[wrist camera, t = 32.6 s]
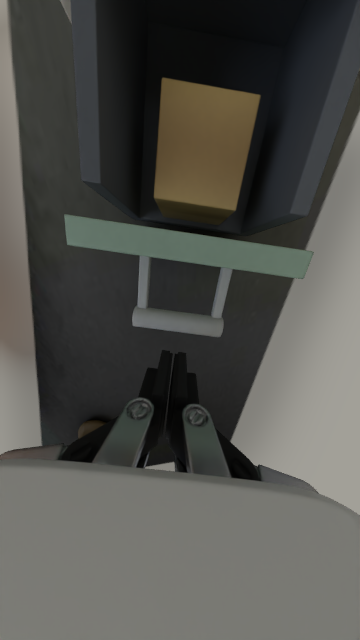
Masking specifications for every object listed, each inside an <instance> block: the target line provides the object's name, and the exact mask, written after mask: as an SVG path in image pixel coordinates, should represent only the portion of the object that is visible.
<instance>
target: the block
mask: <svg viewBox="0 0 360 640" xmlns="http://www.w3.org/2000/svg"><path fill="white" fill-rule="evenodd" d="M260 99H261V95H259V94H253V93H248V92H242V91H237V90H231V89H225V88H220V87H214V86H209V85H203V84H198V83H192V82H186V81H181V80H175V79H170V78H164V77H163V78H162V80H161V94H160V109H159V124H158V139H157V154H156V169H155V184H154V199H155V201H156V203H157V205H158V207H159V209H160V211H161V213H162V215H163V217H167V218H174V219H180V220H187V221H193V222H200V223H206V224H213V225H220V224H221V223H222V222H223V221H224V220H226V219H227V218H228V217H229V216H230V215H231V214H232V213H233V212H235V211H236V208H237V203H238V199H239V194H240V190H241V185H242V181H243V176H244V171H245V167H246V162H247V158H248V153H249V149H250V144H251V140H252V135H253V130H254V126H255V121H256V117H257V112H258V108H259V103H260Z"/></svg>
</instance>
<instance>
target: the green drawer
mask: <svg viewBox="0 0 360 640" xmlns="http://www.w3.org/2000/svg"><path fill="white" fill-rule="evenodd" d="M70 2H71V19H72V35H73V51H74V68H75V84H76V101H77V117H78V133H79V150H80V166H81V180H82V181H83V182H84V183H85V184H87V185H88V186H89V187H91V188H92V189H93V190H95V191H96V192H97V193H99V194H100V195H101V196H103V197H104V198H105V199H107V200H108V201H109V202H111V203H112V204H113V205H115V206H116V207H117V208H119V209H120V210H121V211H123V212H124V213H125V214H127V215H128V216H129V217H131V218H132V219H135V220H142V221H148V222H155V223H162V224H168V225H175V226H181V227H188V228H195V229H201V230H208V231H214V232H221V233H228V234H234V235H241V236H248V235H252V234H255V233H258V232H261V231H264V230H267V229H270V228H273V227H276V226H279V225H282V224H285V223H288V222H291V221H294V220H297V219H300V218H303V217H306V216H307V215H308V213H309V211H310V208H311V205H312V202H313V199H314V196H315V194H316V191H317V188H318V185H319V182H320V180H321V177H322V174H323V171H324V168H325V165H326V163H327V160H328V157H329V154H330V151H331V148H332V146H333V143H334V140H335V137H336V134H337V132H338V129H339V126H340V123H341V120H342V117H343V115H344V112H345V109H346V106H347V103H348V100H349V98H350V95H351V92H352V89H353V86H354V84H355V81H356V78H357V75H358V72H359V69H360V0H70ZM163 77H164V78H170V79H175V80H181V81H186V82H192V83H198V84H203V85H209V86H214V87H220V88H225V89H231V90H237V91H242V92H248V93H253V94H259V95H261V99H260V103H259V108H258V112H257V117H256V121H255V126H254V130H253V135H252V140H251V144H250V149H249V153H248V158H247V162H246V167H245V171H244V176H243V181H242V185H241V190H240V194H239V199H238V203H237V208H236V211H235V212H233V213H232V214H231V215H230V216H229V217H228V218H227V219H226V220H224V221H223V222H222V223H221V224H220V225H213V224H206V223H200V222H193V221H187V220H180V219H174V218H167V217H163V215H162V213H161V211H160V209H159V207H158V205H157V203H156V201H155V199H154V184H155V169H156V154H157V139H158V124H159V109H160V94H161V80H162V78H163ZM64 217H65V227H66V237H67V245H71V246H78V247H85V248H91V249H98V250H105V251H112V252H119V253H126V254H133V255H140V264H139V286H138V306H136V307H135V309H134V311H133V317H132V323H133V326H137V327H145V328H152V329H160V330H168V331H175V332H183V333H190V334H198V335H206V336H213V337H220V336H221V334H222V331H223V318H221V315H222V311H223V307H224V303H225V299H226V294H227V290H228V286H229V282H230V278H231V273H232V269H236V270H243V271H250V272H257V273H264V274H271V275H278V276H285V277H291V278H298V279H303V278H304V276H305V274H306V271H307V269H308V266H309V263H310V261H311V258H312V256H313V253H314V252H312V251H306V250H299V249H293V248H286V247H279V246H273V245H266V244H259V243H253V242H246V241H239V240H233V239H226V238H219V237H213V236H206V235H199V234H193V233H186V232H180V231H173V230H166V229H160V228H153V227H146V226H140V225H133V224H126V223H120V222H113V221H106V220H100V219H93V218H87V217H80V216H73V215H67V214H65V215H64ZM151 257H154V258H160V259H167V260H174V261H181V262H188V263H195V264H202V265H209V266H216V267H221V270H220V275H219V280H218V284H217V289H216V294H215V298H214V303H213V308H212V312H211V316H207V315H200V314H193V313H185V312H178V311H170V310H163V309H156V308H148V298H149V284H150V269H151Z"/></svg>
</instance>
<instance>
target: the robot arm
mask: <svg viewBox="0 0 360 640" xmlns="http://www.w3.org/2000/svg"><path fill="white" fill-rule="evenodd" d="M172 355H173V353H170V351H166V350H162V353H161V357H160V362H159V366H158V369H155V368H148V369H147V371H146V374H145V378H144V381H143V384H142V387H141V390H140V393H139V396H138V398H134V399H132V400H130V401H129V402H128V403H127V404H126V405H125V407H124V409H123V410H122V412H121V414H120V416H118V417H116V418H115V419H113V420H111V421H109V422H108V423H106V424H104V425H102V426H100V427H99V428H97V429H95V430H93V431H92V432H90V433H88V434H86V435H85V436H83V437H81V438H79V439H78V440H76V441H75V442H73V443H72V444H71V445H67V446H65V445H64V443H62V444H54V445H47V446H39V447H31V448H23V449H16V450H11V451H8V452H5V453H4V454H1V455H0V640H360V515H358V514H357V513H355V512H354V511H352V510H351V509H349V508H347V507H346V506H344V505H342V504H340V503H338V502H336V501H334V500H332V499H330V498H328V497H325V496H323V495H321V494H319V493H318V492H317V491H316V490H315V489H314V488H313V487H312V486H311V485H310V484H308V483H306V482H305V481H303V480H300V479H298V478H295V477H292V476H289V475H286V474H284V473H281V472H279V471H276V470H273V469H270V468H268V467H265V466H262V465H258V467H257V466H255V465H253V463H252V462H251V461H250V460H249V459H248V458H247V457H246V456H245V455H244V454H243V453H242V452H240V451H239V450H238V449H237V448H236V447H235V446H234V445H233V444H232V443H231V442H230V441H229V440H227V439H226V438H225V437H224V436H223V435H222V434H221V433H220V432H219V431H218V430H217V429H215V427H214V424H213V421H212V418H211V415H210V413H209V411H208V410H207V409H206V408H205V407H203V406H202V405H199V399H198V390H197V381H196V374H195V373H187V365H186V353H182V352H178V354H175V357H174V364H173V371H172V378H171V385H170V394H169V404H168V414H167V424H166V434H165V438H169V442H168V446H169V447H170V448H171V450H172V451H173V452H174V462H175V472H172V471H163V470H154V469H145V466H146V463H147V460H148V457H149V451H150V450H152V449H153V448H154V447H155V446H157V442H158V437H160V438H162V434H163V427H164V420H165V413H166V406H167V399H168V391H169V382H170V373H171V364H172Z"/></svg>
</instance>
